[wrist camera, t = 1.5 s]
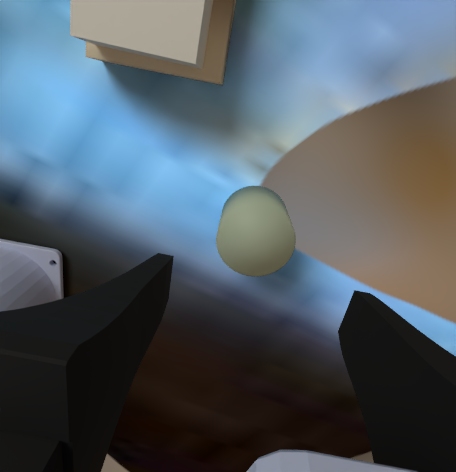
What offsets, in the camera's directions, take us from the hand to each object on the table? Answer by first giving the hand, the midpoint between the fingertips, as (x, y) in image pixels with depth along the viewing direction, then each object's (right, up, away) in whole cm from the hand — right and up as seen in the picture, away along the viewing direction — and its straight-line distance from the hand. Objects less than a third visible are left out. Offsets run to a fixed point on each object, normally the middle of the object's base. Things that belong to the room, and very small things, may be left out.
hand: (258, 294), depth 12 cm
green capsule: (+1, +4, +9) cm, 10 cm away
